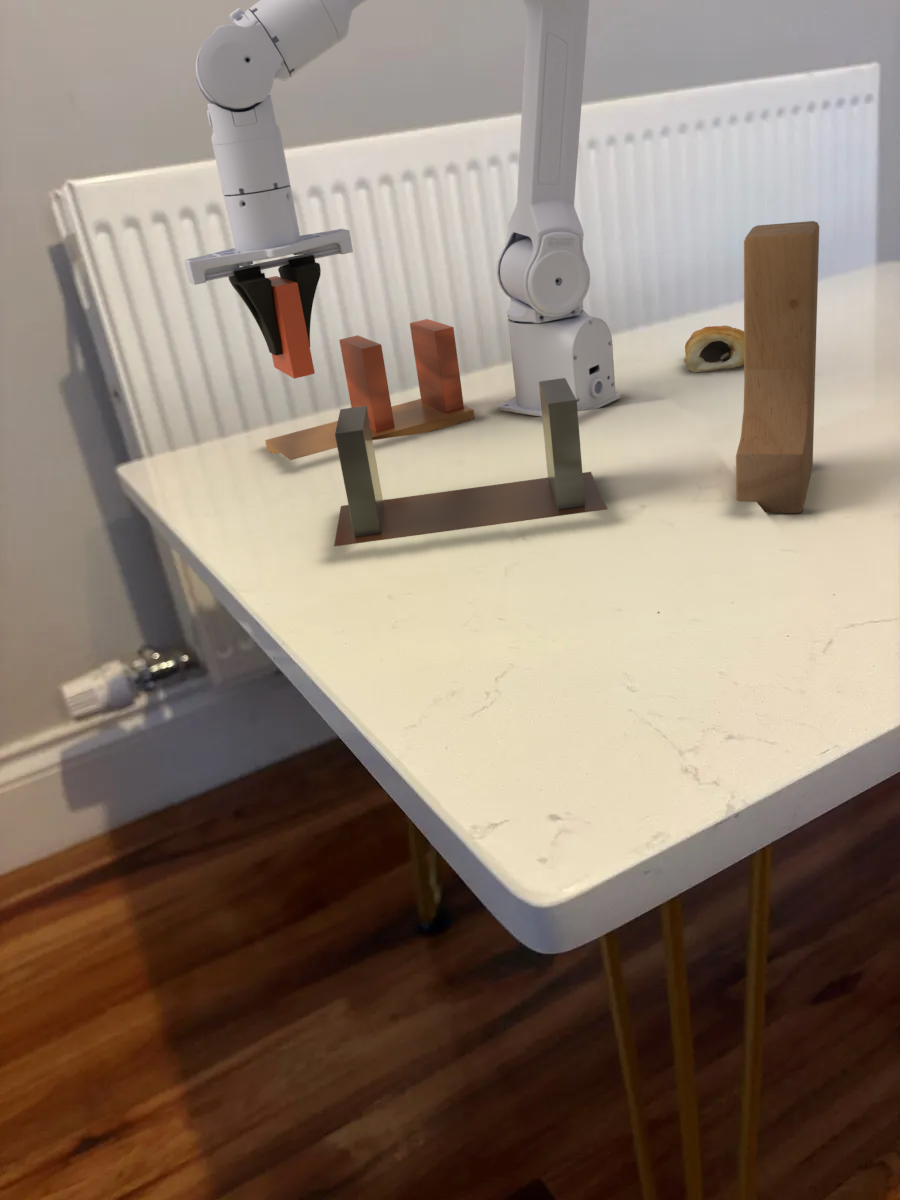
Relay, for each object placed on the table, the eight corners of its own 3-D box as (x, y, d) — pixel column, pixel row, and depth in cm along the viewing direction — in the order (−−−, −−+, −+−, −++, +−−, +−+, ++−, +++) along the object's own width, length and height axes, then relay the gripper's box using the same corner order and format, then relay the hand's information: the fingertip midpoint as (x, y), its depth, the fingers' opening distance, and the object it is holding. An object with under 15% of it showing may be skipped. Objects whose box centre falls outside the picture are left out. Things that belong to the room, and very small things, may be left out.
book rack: (440, 403, 107) (427, 316, 103) (474, 419, 100) (463, 327, 96) (266, 449, 101) (246, 359, 97) (292, 470, 94) (271, 373, 90)
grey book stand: (591, 483, 81) (583, 371, 77) (608, 521, 74) (600, 400, 70) (342, 517, 82) (321, 408, 78) (335, 558, 75) (312, 440, 71)
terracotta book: (294, 362, 97) (276, 275, 93) (315, 373, 92) (297, 282, 88) (274, 367, 96) (255, 280, 92) (294, 378, 91) (275, 286, 87)
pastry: (688, 350, 112) (688, 314, 111) (752, 346, 111) (753, 310, 109) (683, 374, 105) (682, 336, 103) (752, 370, 103) (753, 332, 101)
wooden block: (802, 515, 71) (809, 243, 63) (735, 513, 72) (733, 249, 64) (812, 468, 78) (819, 219, 70) (751, 467, 80) (751, 225, 72)
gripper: (183, 207, 81) (223, 376, 87) (353, 177, 86) (379, 338, 92) (165, 204, 87) (203, 362, 93) (324, 175, 92) (351, 328, 98)
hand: (289, 350), depth 93 cm, fingers closed on terracotta book, 2 cm apart
